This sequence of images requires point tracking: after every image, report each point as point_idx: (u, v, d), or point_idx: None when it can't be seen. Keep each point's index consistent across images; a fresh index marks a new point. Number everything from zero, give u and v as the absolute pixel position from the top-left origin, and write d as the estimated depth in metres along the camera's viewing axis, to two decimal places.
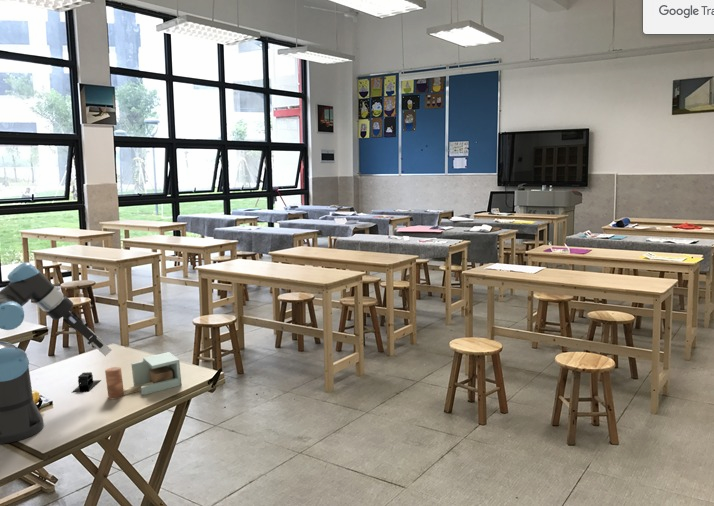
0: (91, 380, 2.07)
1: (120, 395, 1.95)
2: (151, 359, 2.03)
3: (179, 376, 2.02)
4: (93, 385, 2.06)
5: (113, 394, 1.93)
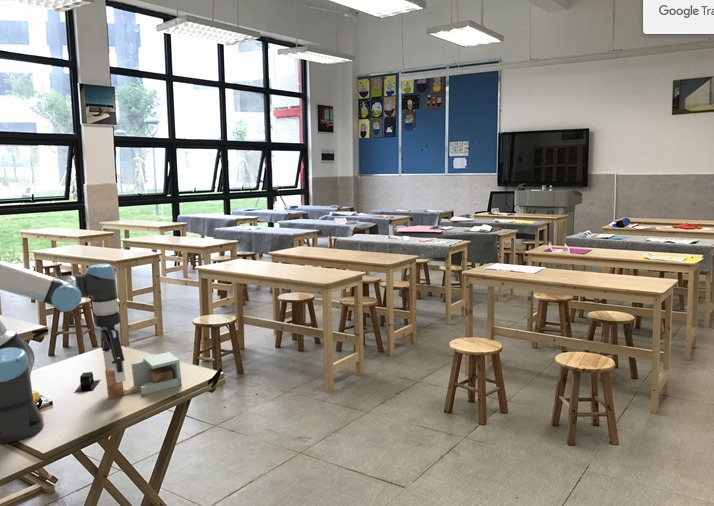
0: (92, 380, 2.07)
1: (120, 395, 1.95)
2: (151, 359, 2.03)
3: (179, 376, 2.02)
4: (95, 385, 2.06)
5: (113, 394, 1.93)
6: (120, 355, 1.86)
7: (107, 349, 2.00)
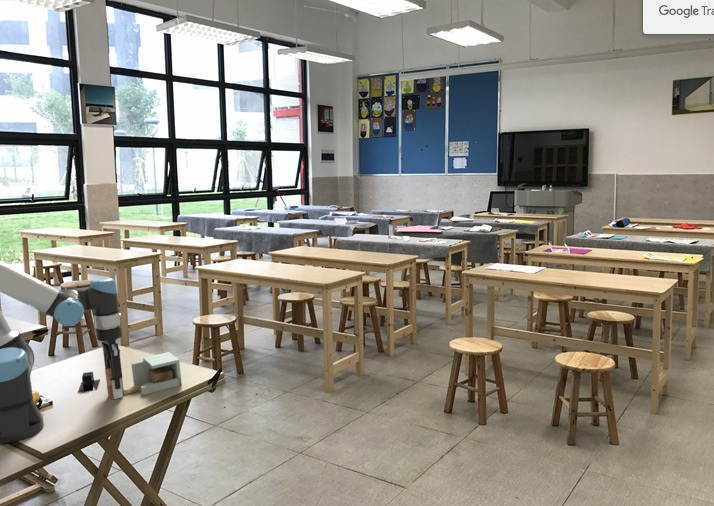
0: (92, 379, 2.08)
1: None
2: (151, 359, 2.03)
3: (179, 376, 2.02)
4: (96, 384, 2.06)
5: None
6: (119, 373, 1.90)
7: None
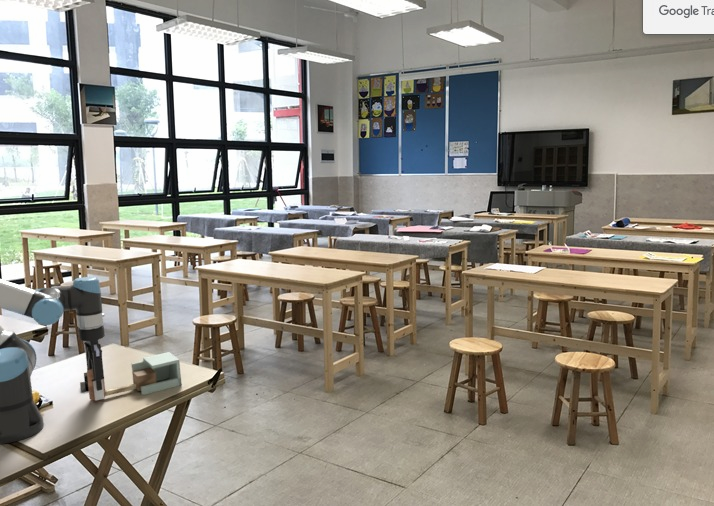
0: None
1: None
2: (151, 359, 2.03)
3: (179, 376, 2.02)
4: None
5: (94, 395, 1.90)
6: (100, 374, 1.87)
7: None
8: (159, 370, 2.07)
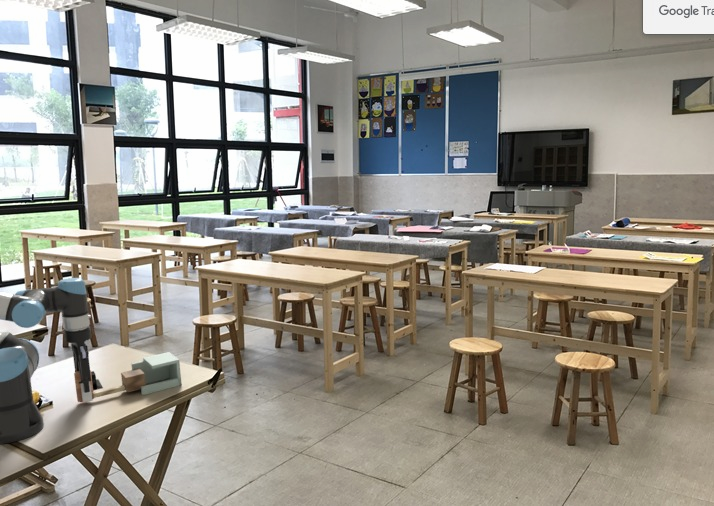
0: None
1: None
2: (151, 359, 2.03)
3: (179, 376, 2.02)
4: (98, 383, 2.07)
5: None
6: (87, 376, 1.84)
7: None
8: (159, 370, 2.07)
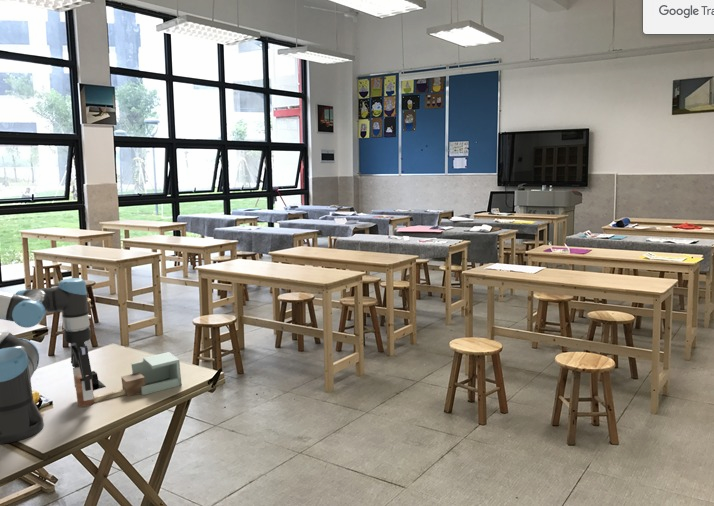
0: None
1: (90, 403, 1.89)
2: (151, 359, 2.03)
3: (179, 376, 2.02)
4: (99, 382, 2.08)
5: (83, 401, 1.88)
6: (88, 373, 1.81)
7: (77, 365, 1.95)
8: (159, 370, 2.07)
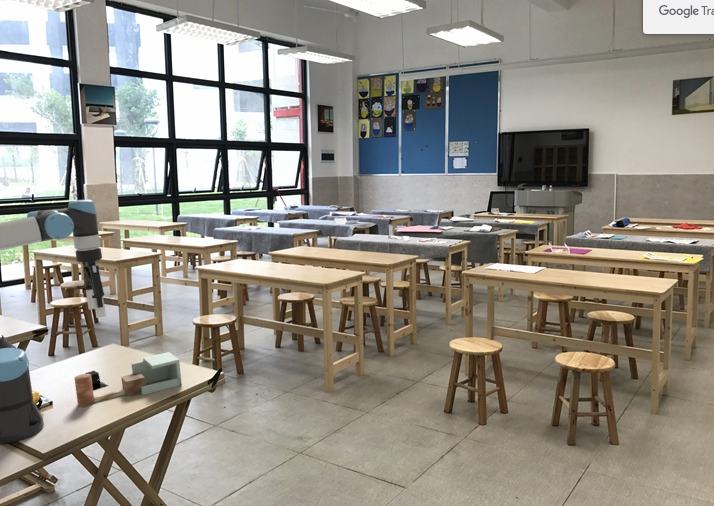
0: None
1: (90, 403, 1.89)
2: (151, 359, 2.03)
3: (179, 376, 2.02)
4: (100, 382, 2.08)
5: (83, 401, 1.88)
6: (100, 289, 1.86)
7: (90, 287, 2.00)
8: (159, 370, 2.07)
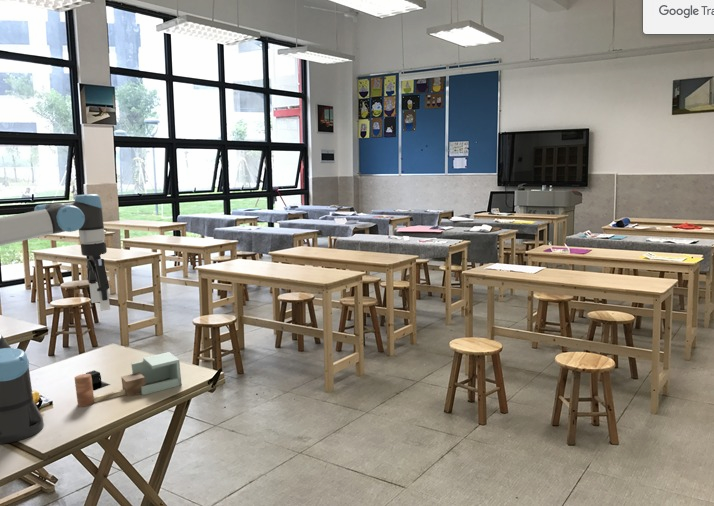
0: None
1: (90, 403, 1.89)
2: (151, 359, 2.03)
3: (179, 376, 2.02)
4: None
5: (83, 401, 1.88)
6: (105, 282, 1.89)
7: (93, 281, 2.02)
8: (159, 370, 2.07)
